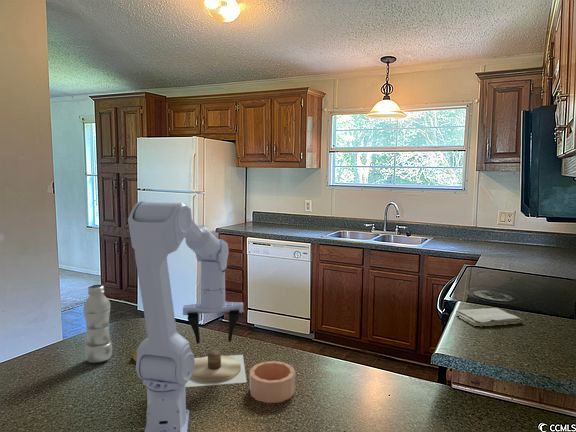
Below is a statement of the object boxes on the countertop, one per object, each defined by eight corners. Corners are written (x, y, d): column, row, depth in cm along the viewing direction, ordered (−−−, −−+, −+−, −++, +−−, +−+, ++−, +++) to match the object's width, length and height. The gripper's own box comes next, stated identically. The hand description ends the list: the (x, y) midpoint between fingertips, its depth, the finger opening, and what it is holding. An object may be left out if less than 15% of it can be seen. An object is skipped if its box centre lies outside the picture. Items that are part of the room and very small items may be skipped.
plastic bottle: (79, 362, 110) (75, 287, 107) (101, 352, 116) (98, 281, 113) (96, 368, 107) (92, 291, 104) (118, 357, 113) (115, 284, 110)
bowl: (298, 402, 92) (298, 380, 91) (252, 406, 90) (251, 384, 89) (290, 379, 101) (290, 359, 101) (248, 383, 100) (248, 362, 99)
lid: (242, 380, 100) (242, 363, 99) (185, 384, 98) (185, 367, 97) (239, 356, 113) (239, 341, 112) (189, 359, 110) (189, 344, 110)
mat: (246, 384, 99) (246, 382, 99) (181, 389, 97) (181, 387, 97) (242, 356, 114) (242, 354, 114) (185, 360, 111) (185, 358, 111)
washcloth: (453, 317, 147) (453, 308, 146) (497, 313, 151) (498, 305, 150) (475, 330, 135) (476, 320, 135) (523, 325, 139) (523, 316, 139)
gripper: (242, 281, 108) (242, 332, 110) (184, 284, 106) (185, 336, 107) (243, 289, 101) (244, 344, 103) (181, 292, 99) (183, 348, 100)
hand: (214, 340), depth 104 cm, fingers open, 7 cm apart
